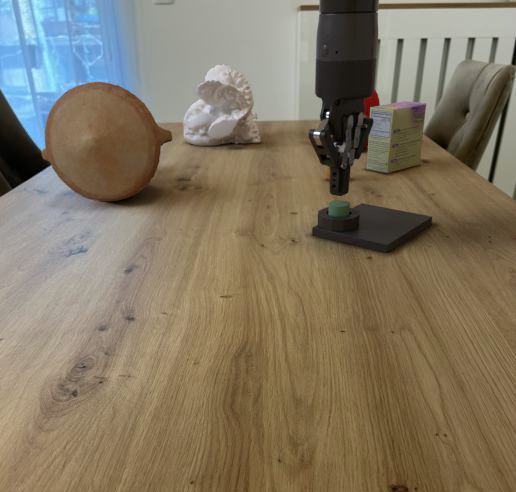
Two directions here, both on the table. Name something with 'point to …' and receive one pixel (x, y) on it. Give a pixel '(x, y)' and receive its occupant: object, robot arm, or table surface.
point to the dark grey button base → (371, 226)
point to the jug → (103, 141)
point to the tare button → (339, 208)
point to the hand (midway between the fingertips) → (339, 194)
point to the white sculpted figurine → (222, 110)
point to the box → (395, 136)
